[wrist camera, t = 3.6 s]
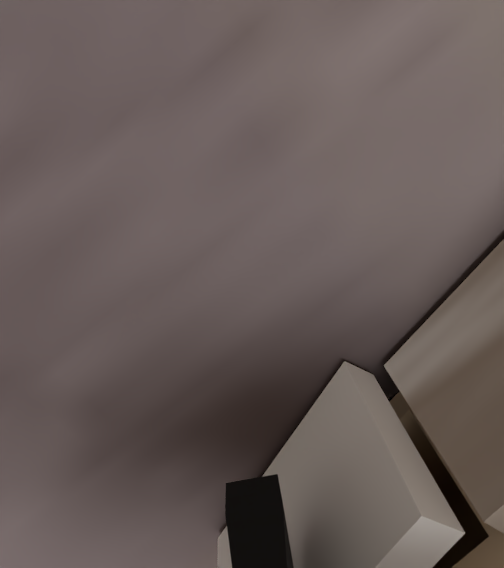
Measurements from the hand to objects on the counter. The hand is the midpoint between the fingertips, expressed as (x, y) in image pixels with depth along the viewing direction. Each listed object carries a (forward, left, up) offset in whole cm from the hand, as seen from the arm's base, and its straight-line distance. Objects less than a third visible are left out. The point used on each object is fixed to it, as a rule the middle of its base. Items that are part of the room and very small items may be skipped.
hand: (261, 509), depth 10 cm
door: (-2, +1, -3) cm, 4 cm away
